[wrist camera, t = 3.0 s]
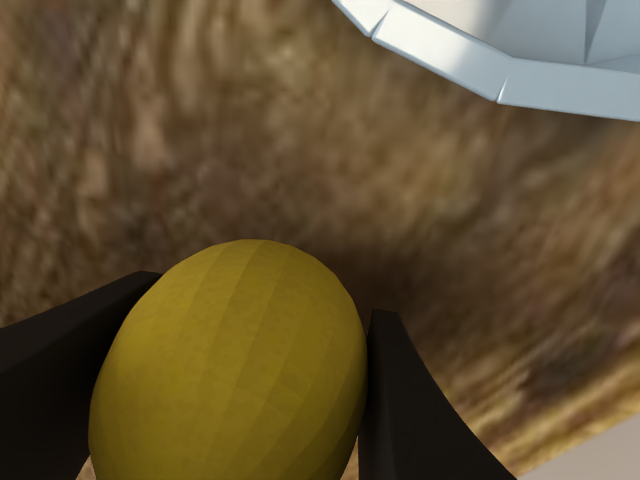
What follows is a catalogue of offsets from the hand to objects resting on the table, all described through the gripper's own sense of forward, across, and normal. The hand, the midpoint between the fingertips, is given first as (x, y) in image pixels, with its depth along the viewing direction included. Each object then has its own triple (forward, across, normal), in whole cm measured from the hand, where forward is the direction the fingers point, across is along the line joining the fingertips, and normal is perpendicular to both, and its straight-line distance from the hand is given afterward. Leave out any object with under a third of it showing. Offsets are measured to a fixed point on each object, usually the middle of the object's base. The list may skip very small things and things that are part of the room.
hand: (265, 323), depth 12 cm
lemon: (+2, 0, 0) cm, 2 cm away
